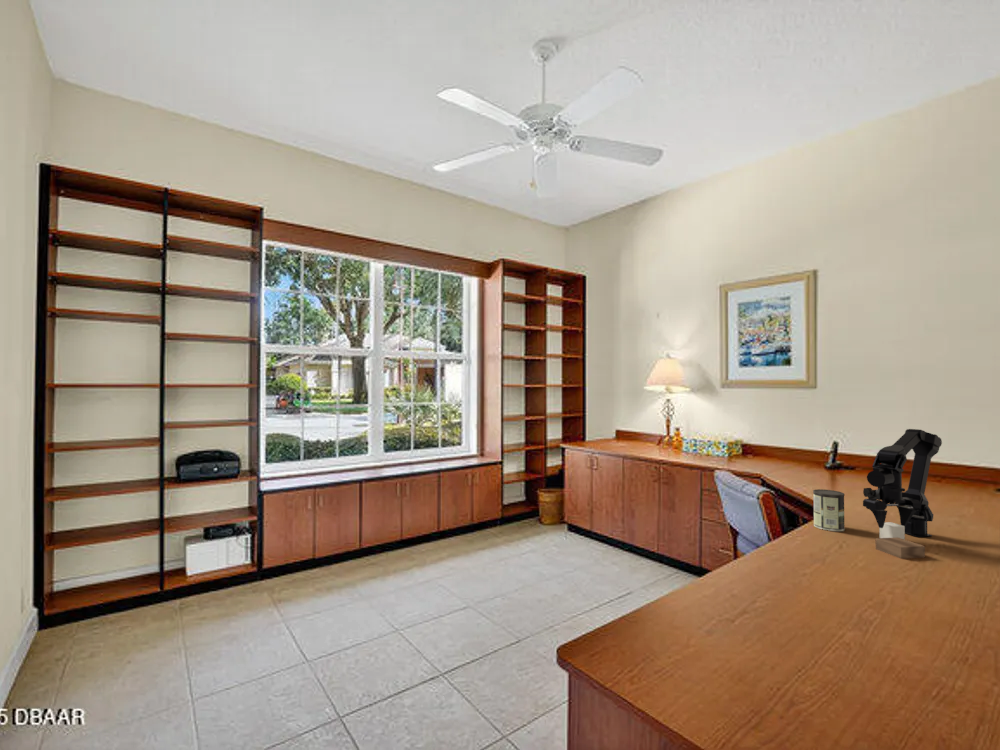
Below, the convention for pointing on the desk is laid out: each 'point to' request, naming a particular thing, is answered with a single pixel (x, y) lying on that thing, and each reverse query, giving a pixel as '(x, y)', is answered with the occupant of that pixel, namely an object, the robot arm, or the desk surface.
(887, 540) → the walnut block
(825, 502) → the coffee can
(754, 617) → the desk surface
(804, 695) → the desk surface
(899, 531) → the cream block
